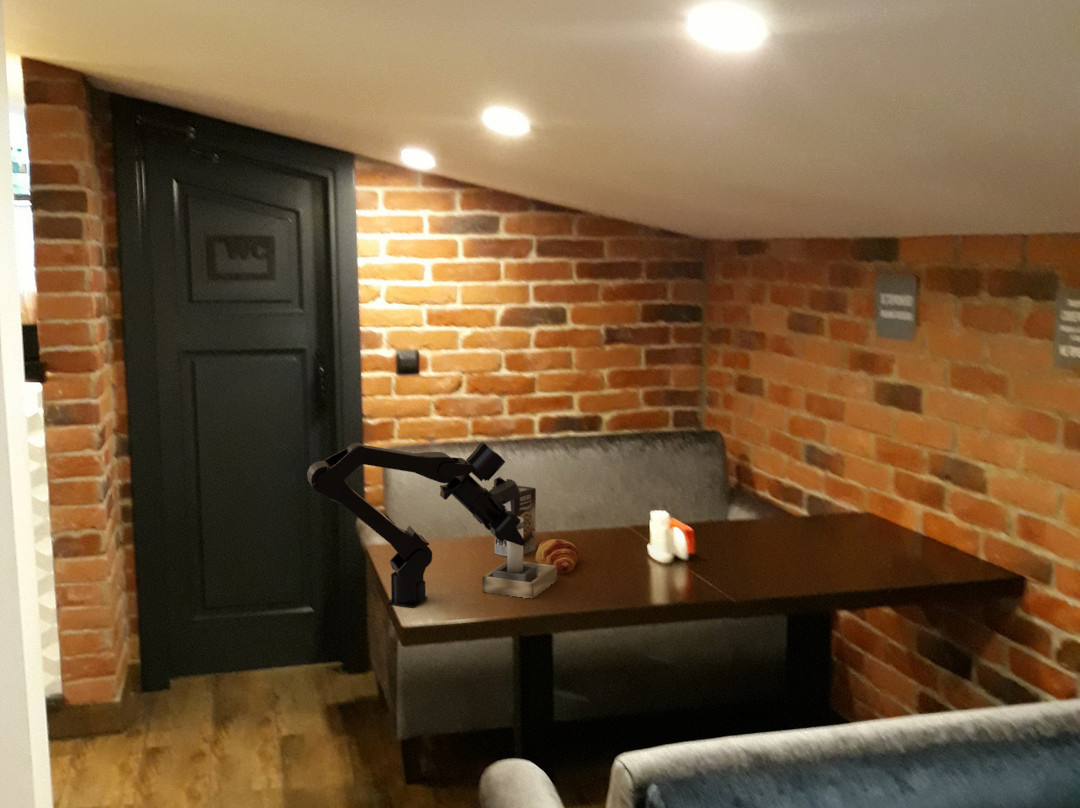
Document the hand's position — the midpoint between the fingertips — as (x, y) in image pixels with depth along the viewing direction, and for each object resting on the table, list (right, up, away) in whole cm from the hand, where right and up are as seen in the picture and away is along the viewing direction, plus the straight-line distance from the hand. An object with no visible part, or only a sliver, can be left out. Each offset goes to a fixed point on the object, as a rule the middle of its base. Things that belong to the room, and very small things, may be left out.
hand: (521, 541), depth 237 cm
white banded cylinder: (-1, -7, +1) cm, 7 cm away
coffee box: (-2, -7, +30) cm, 31 cm away
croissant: (+8, -8, +20) cm, 23 cm away
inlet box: (0, -10, +3) cm, 11 cm away
